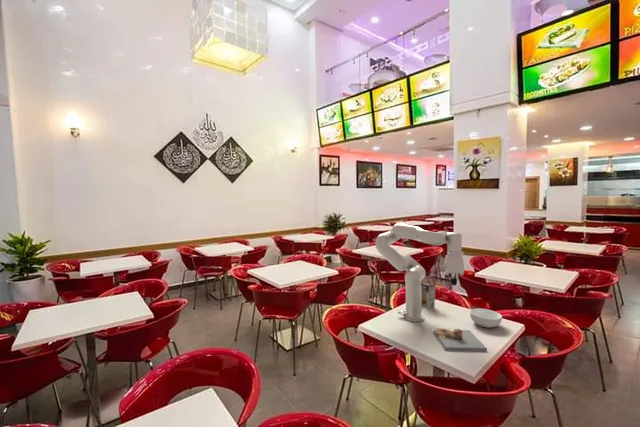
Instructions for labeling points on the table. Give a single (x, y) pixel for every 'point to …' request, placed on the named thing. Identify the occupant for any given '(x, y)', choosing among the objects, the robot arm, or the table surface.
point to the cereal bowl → (485, 317)
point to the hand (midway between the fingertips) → (453, 284)
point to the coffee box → (428, 295)
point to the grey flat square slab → (461, 342)
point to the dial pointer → (450, 332)
